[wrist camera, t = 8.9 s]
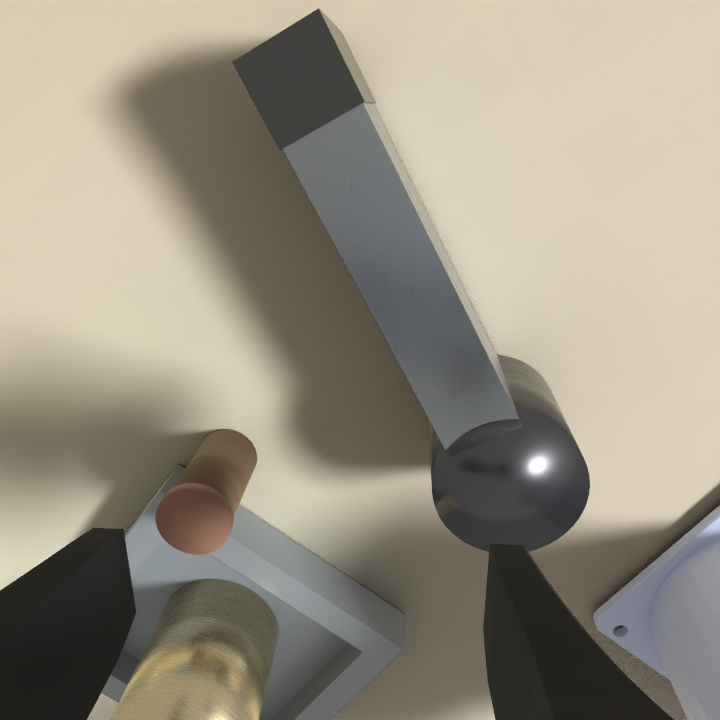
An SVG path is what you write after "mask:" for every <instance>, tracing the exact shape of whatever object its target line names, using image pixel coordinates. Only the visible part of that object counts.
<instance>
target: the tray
mask: <svg viewBox="0 0 720 720" xmlns="http://www.w3.org/2000/svg"><path fill="white" fill-rule="evenodd" d="M185 469H186V468H184V467H182V466H181V465H179V464H178V465H177V466H176V467H175V469H174V470H173V471H172V473H171V474H170V475H169V477H168V478H167V479H166V481H165V482H164V483H163V485H162V486H161V487H160V489H159V490H158V491H157V493H156V494H155V495H154V497H153V498H152V499H151V501H150V502H149V503H148V505H147V506H146V507H145V509H144V510H143V511H142V513H141V514H140V515H139V517H138V518H137V519H136V521H135V522H134V523H133V525H132V526H131V527H130V529H129V530H128V531H127V533H126V534H125V542H126V548H127V555H128V561H129V568H130V574H131V581H132V587H133V593H134V600H135V606H136V615H135V617H134V620H133V623H132V626H131V628H130V631H129V634H128V637H127V639H126V642H125V644H124V647H123V649H122V652H121V654H120V657H119V659H118V661H117V663H116V665H115V667H114V669H113V671H112V673H111V675H110V677H109V679H108V681H107V683H106V684H105V686H104V688H103V690H102V692H101V693H103V694H105V695H106V696H108V697H110V698H112V699H113V700H115V701H117V702H118V703H119V702H120V700H121V698H122V696H123V693H124V691H125V689H126V687H127V685H128V683H129V681H130V679H131V677H132V674H133V672H134V670H135V668H136V666H137V664H138V662H139V660H140V658H141V655H142V653H143V651H144V649H145V647H146V645H147V643H148V641H149V639H150V636H151V634H152V632H153V630H154V628H155V626H156V624H157V622H158V620H159V617H160V615H161V613H162V611H163V609H164V607H165V605H166V603H167V601H168V600H169V598H170V597H171V596H172V595H173V594H174V593H175V592H176V591H177V590H179V589H180V588H181V587H183V586H185V585H187V584H190V583H193V582H196V581H200V580H209V579H217V580H225V581H230V582H234V583H237V584H240V585H242V586H244V587H247V588H248V589H250V590H252V591H254V592H255V593H256V594H258V595H259V596H260V597H261V598H262V599H263V600H265V601H266V603H267V604H268V605H269V606H270V608H271V609H272V611H273V612H274V615H275V617H276V619H277V623H278V629H279V635H278V641H277V645H276V649H275V654H274V658H273V662H272V666H271V671H270V675H269V679H268V683H267V688H266V692H265V696H264V700H263V705H262V709H261V713H260V717H259V720H330V719H331V718H332V717H333V716H334V715H335V714H337V713H338V712H339V711H340V710H341V709H342V708H343V707H344V706H345V705H346V704H347V703H348V702H349V701H350V700H351V699H352V698H353V697H354V696H355V695H357V694H358V693H359V692H360V691H361V690H362V689H363V688H364V687H365V686H366V685H367V684H368V683H369V682H370V681H371V680H372V679H373V678H374V677H375V676H377V675H378V674H379V673H380V672H381V671H382V670H383V669H384V668H385V667H386V666H387V665H388V664H389V663H390V662H391V661H392V660H393V659H394V658H395V657H396V656H398V655H399V654H400V653H401V652H402V651H403V637H404V613H403V612H401V611H400V610H398V609H397V608H395V607H394V606H392V605H391V604H389V603H388V602H386V601H385V600H383V599H382V598H380V597H379V596H377V595H376V594H374V593H372V592H371V591H369V590H368V589H366V588H365V587H363V586H362V585H360V584H359V583H357V582H356V581H354V580H353V579H351V578H350V577H348V576H347V575H345V574H344V573H342V572H341V571H339V570H338V569H336V568H335V567H333V566H332V565H330V564H329V563H327V562H326V561H324V560H323V559H321V558H320V557H318V556H317V555H315V554H314V553H312V552H311V551H309V550H308V549H306V548H305V547H303V546H302V545H300V544H299V543H297V542H296V541H294V540H293V539H291V538H290V537H288V536H287V535H285V534H284V533H282V532H281V531H279V530H277V529H276V528H274V527H273V526H271V525H270V524H268V523H267V522H265V521H264V520H262V519H261V518H259V517H258V516H256V515H255V514H253V513H252V512H250V511H249V510H247V509H246V508H244V507H243V506H241V505H240V504H239V505H238V507H237V510H236V512H235V514H234V522H233V527H232V530H231V532H230V534H229V537H228V539H227V541H226V542H225V543H224V544H223V546H222V547H220V548H219V549H217V550H216V551H214V552H211V553H208V554H202V555H194V554H188V553H184V552H181V551H179V550H177V549H175V548H173V547H172V546H171V545H169V544H168V543H167V542H166V541H165V540H164V539H163V538H162V536H161V535H160V533H159V531H158V529H157V526H156V520H155V516H156V510H157V508H158V505H159V504H160V502H161V501H162V499H163V498H164V496H165V495H166V493H167V492H168V491H169V490H171V489H172V488H174V486H175V485H176V483H177V482H178V480H179V478H180V477H181V475H182V474H183V472H184V470H185Z"/></svg>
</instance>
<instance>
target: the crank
mask: <svg viewBox="0 0 720 720" xmlns="http://www.w3.org/2000/svg"><path fill="white" fill-rule="evenodd" d="M232 63H233V64H234V66H235V68H236V70H237V72H238V74H239V76H240V77H241V79H242V81H243V83H244V85H245V87H246V88H247V90H248V92H249V94H250V96H251V98H252V99H253V101H254V103H255V105H256V107H257V109H258V110H259V112H260V114H261V116H262V118H263V120H264V122H265V123H266V125H267V127H268V129H269V131H270V133H271V134H272V136H273V138H274V140H275V142H276V144H277V145H278V147H279V149H280V150H282V149H283V151H284V153H285V155H286V156H287V158H288V160H289V162H290V164H291V166H292V168H293V169H294V171H295V173H296V175H297V177H298V179H299V180H300V182H301V184H302V186H303V188H304V190H305V191H306V193H307V195H308V197H309V199H310V201H311V203H312V204H313V206H314V208H315V210H316V212H317V214H318V215H319V217H320V219H321V221H322V223H323V225H324V227H325V228H326V230H327V232H328V234H329V236H330V238H331V239H332V241H333V243H334V245H335V247H336V249H337V251H338V252H339V254H340V256H341V258H342V260H343V262H344V263H345V265H346V267H347V269H348V271H349V273H350V275H351V276H352V278H353V280H354V282H355V284H356V286H357V287H358V289H359V291H360V293H361V295H362V297H363V299H364V300H365V302H366V304H367V306H368V308H369V310H370V311H371V313H372V315H373V317H374V319H375V321H376V323H377V324H378V326H379V328H380V330H381V332H382V334H383V335H384V337H385V339H386V341H387V343H388V345H389V347H390V348H391V350H392V352H393V354H394V356H395V358H396V359H397V361H398V363H399V365H400V367H401V369H402V370H403V372H404V374H405V376H406V378H407V380H408V382H409V383H410V385H411V387H412V389H413V391H414V393H415V394H416V396H417V398H418V400H419V402H420V404H421V406H422V407H423V409H424V411H425V413H426V415H427V417H428V420H429V440H430V459H431V478H432V494H433V501H434V504H435V508H436V510H437V512H438V515H439V517H440V518H441V520H442V521H443V523H444V524H445V526H446V527H447V528H448V529H449V530H450V531H451V532H452V533H453V534H454V535H455V536H457V537H458V538H459V539H461V540H462V541H464V542H465V543H467V544H469V545H471V546H473V547H476V548H479V549H482V550H485V551H489V549H490V544H505V545H523V546H524V547H525V549H526V550H527V551H532V550H535V549H538V548H541V547H543V546H546V545H548V544H550V543H552V542H553V541H555V540H557V539H558V538H560V537H561V536H562V535H564V534H565V533H566V532H567V531H568V530H569V529H570V528H571V527H573V525H574V524H575V523H576V522H577V520H578V519H579V517H580V516H581V514H582V512H583V510H584V508H585V506H586V503H587V500H588V496H589V488H590V480H589V473H588V468H587V465H586V463H585V460H584V458H583V456H582V454H581V452H580V450H579V447H578V445H577V443H576V441H575V439H574V437H573V435H572V433H571V431H570V429H569V427H568V425H567V423H566V421H565V419H564V417H563V415H562V413H561V410H560V408H559V406H558V404H557V402H556V400H555V398H554V396H553V394H552V392H551V390H550V388H549V386H548V384H547V383H546V381H545V380H544V379H543V377H542V376H541V375H540V374H539V373H538V372H537V371H536V370H535V369H533V368H532V367H531V366H529V365H527V364H526V363H524V362H522V361H519V360H517V359H514V358H510V357H506V356H498V355H497V353H496V351H495V349H494V347H493V345H492V343H491V341H490V339H489V337H488V335H487V333H486V331H485V329H484V327H483V325H482V323H481V321H480V319H479V317H478V314H477V312H476V310H475V308H474V306H473V304H472V302H471V300H470V298H469V296H468V294H467V292H466V290H465V288H464V286H463V284H462V282H461V280H460V278H459V276H458V274H457V272H456V270H455V268H454V265H453V263H452V261H451V259H450V257H449V255H448V253H447V251H446V249H445V247H444V245H443V243H442V241H441V239H440V237H439V235H438V233H437V231H436V229H435V227H434V225H433V223H432V221H431V219H430V216H429V214H428V212H427V210H426V208H425V206H424V204H423V202H422V200H421V198H420V196H419V194H418V192H417V190H416V188H415V186H414V184H413V182H412V180H411V178H410V176H409V174H408V172H407V170H406V167H405V165H404V163H403V161H402V159H401V157H400V155H399V153H398V151H397V149H396V147H395V145H394V143H393V141H392V139H391V137H390V135H389V133H388V131H387V129H386V127H385V125H384V123H383V121H382V118H381V116H380V114H379V112H378V110H377V108H376V106H375V104H374V103H376V102H375V100H374V98H373V96H372V94H371V92H370V90H369V88H368V85H367V83H366V81H365V79H364V77H363V75H362V73H361V71H360V69H359V67H358V65H357V63H356V61H355V59H354V57H353V55H352V53H351V51H350V49H349V47H348V45H347V43H346V40H345V38H344V36H343V34H342V32H341V31H340V30H339V29H338V28H337V27H336V26H335V25H334V24H333V23H332V22H331V21H330V20H329V19H328V17H327V16H326V15H325V14H324V13H323V12H322V11H321V10H320V9H317V10H315V11H314V12H312V13H311V14H309V15H307V16H306V17H304V18H303V19H301V20H299V21H298V22H296V23H294V24H293V25H291V26H290V27H288V28H286V29H285V30H283V31H282V32H280V33H278V34H277V35H275V36H273V37H272V38H270V39H269V40H267V41H265V42H264V43H262V44H261V45H259V46H257V47H256V48H254V49H252V50H251V51H249V52H248V53H246V54H244V55H243V56H241V57H240V58H238V59H236V60H235V61H233V62H232Z"/></svg>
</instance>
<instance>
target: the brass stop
mask: <svg viewBox="0 0 720 720" xmlns="http://www.w3.org/2000/svg"><path fill="white" fill-rule="evenodd" d="M278 635H279V629H278V623H277V619H276V617H275V615H274V612H273V611H272V609H271V608H270V606H269V605H268V604H267V603H266V601H265V600H263V599H262V598H261V597H260V596H259V595H258V594H256V593H255V592H254V591H252V590H250V589H248V588H247V587H244V586H242V585H240V584H237V583H234V582H230V581H225V580H217V579H209V580H200V581H196V582H193V583H190V584H187V585H185V586H183V587H181V588H180V589H179V590H177V591H176V592H175V593H174V594H173V595H172V596H171V597H170V598H169V600H168V601H167V603H166V605H165V607H164V609H163V611H162V613H161V615H160V617H159V620H158V622H157V624H156V626H155V628H154V630H153V632H152V634H151V636H150V639H149V641H148V643H147V645H146V647H145V649H144V651H143V653H142V655H141V658H140V660H139V662H138V664H137V666H136V668H135V670H134V672H133V674H132V677H131V679H130V681H129V683H128V685H127V687H126V689H125V691H124V693H123V696H122V698H121V700H120V702H119V704H118V706H117V708H116V710H115V712H114V715H113V717H112V719H111V720H259V717H260V713H261V709H262V705H263V700H264V696H265V692H266V688H267V683H268V679H269V675H270V671H271V666H272V662H273V658H274V654H275V649H276V645H277V641H278Z"/></svg>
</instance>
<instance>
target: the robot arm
mask: <svg viewBox="0 0 720 720" xmlns="http://www.w3.org/2000/svg"><path fill="white" fill-rule="evenodd" d="M135 615H136V606H135V600H134V593H133V587H132V581H131V574H130V568H129V561H128V555H127V548H126V542H125V535H124V529H105V528H93V529H92V530H90V531H88V532H87V533H85V534H83V535H82V536H80V537H79V538H77V539H76V540H74V541H73V542H71V543H70V544H68V545H67V546H65V547H64V548H62V549H61V550H59V551H58V552H56V553H55V554H54V555H52V556H51V557H49V558H48V559H46V560H45V561H43V562H42V563H41V564H39V565H38V566H36V567H35V568H33V569H32V570H30V571H29V572H27V573H26V574H24V575H23V576H21V577H20V578H18V579H17V580H15V581H14V582H12V583H11V584H10V585H8V586H7V587H5V588H4V589H2V590H0V720H87V718H88V716H89V714H90V712H91V711H92V709H93V707H94V705H95V703H96V701H97V700H98V698H99V696H100V694H101V692H102V690H103V688H104V686H105V684H106V683H107V681H108V679H109V677H110V675H111V673H112V671H113V669H114V667H115V665H116V663H117V661H118V659H119V657H120V654H121V652H122V649H123V647H124V644H125V642H126V639H127V637H128V634H129V631H130V628H131V626H132V623H133V620H134V617H135ZM593 619H594V623H595V625H596V628H597V629H598V630H599V631H600V632H601V633H603V634H604V635H605V636H607V637H608V638H610V639H611V640H613V641H614V642H615V643H617V644H618V645H620V646H621V647H623V648H624V649H626V650H627V651H628V652H630V653H631V654H633V655H634V656H636V657H637V658H638V659H640V660H641V661H643V662H644V663H646V664H647V665H648V666H650V667H651V668H653V669H654V670H656V671H657V672H658V673H660V674H661V675H663V676H664V677H666V678H667V679H668V680H670V682H671V684H672V686H673V688H674V690H675V693H676V695H677V697H678V699H679V702H680V704H681V706H682V708H683V710H684V713H685V715H686V717H687V719H688V720H720V505H719V506H718V507H717V508H716V509H715V510H713V511H712V512H711V513H710V514H709V515H708V516H706V517H705V518H704V519H703V520H702V521H701V522H699V523H698V524H697V525H696V526H695V527H693V528H692V529H691V530H690V531H689V532H688V533H686V534H685V535H684V536H683V537H682V538H681V539H679V540H678V541H677V542H676V543H675V544H674V545H672V546H671V547H670V548H669V549H668V550H667V551H665V552H664V553H663V554H662V555H661V556H659V557H658V558H657V559H656V560H655V561H654V562H652V563H651V564H650V565H649V566H648V567H647V568H645V569H644V570H643V571H642V572H641V573H640V574H638V575H637V576H636V577H635V578H634V579H632V580H631V581H630V582H629V583H628V584H627V585H625V586H624V587H623V588H622V589H621V590H620V591H618V592H617V593H616V594H615V595H614V596H613V597H611V598H610V599H609V600H608V601H607V602H605V603H604V604H603V605H602V606H601V607H600V608H598V609H597V610H596V612H595V613H594V616H593ZM620 625H623V627H622V628H620V629H614V628H615V627H617V626H620ZM483 631H484V643H485V655H486V666H487V676H488V684H489V689H490V694H491V699H492V704H493V709H494V714H495V719H496V720H674V719H673V718H671V717H670V716H669V715H668V714H667V713H666V712H664V711H663V710H662V709H661V708H660V707H659V706H658V705H657V704H655V703H654V702H653V701H652V700H651V699H650V698H649V697H648V696H647V695H646V694H645V693H644V692H643V691H642V690H641V689H640V688H638V687H637V686H636V685H635V684H634V683H633V682H632V681H631V680H630V679H629V678H628V677H627V676H626V675H625V674H624V673H623V672H622V670H621V669H620V668H619V667H618V666H617V665H616V664H615V663H614V662H613V661H612V660H611V659H610V658H609V656H608V655H607V654H606V653H605V652H604V651H603V650H602V649H601V647H600V646H599V645H598V644H597V643H596V642H595V641H594V640H593V638H592V637H591V636H590V635H589V634H588V632H587V631H586V630H585V629H584V628H583V626H582V625H581V624H580V623H579V621H578V620H577V619H576V618H575V616H574V615H573V614H572V613H571V611H570V610H569V609H568V607H567V606H566V605H565V604H564V602H563V601H562V600H561V598H560V597H559V596H558V594H557V593H556V592H555V590H554V589H553V587H552V586H551V585H550V583H549V582H548V580H547V579H546V578H545V576H544V575H543V573H542V572H541V570H540V569H539V567H538V566H537V564H536V563H535V561H534V560H533V558H532V557H531V555H530V554H529V552H528V551H527V550H526V549H525V547H524V546H523V545H505V544H490V549H489V562H488V575H487V588H486V601H485V614H484V627H483Z"/></svg>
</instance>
